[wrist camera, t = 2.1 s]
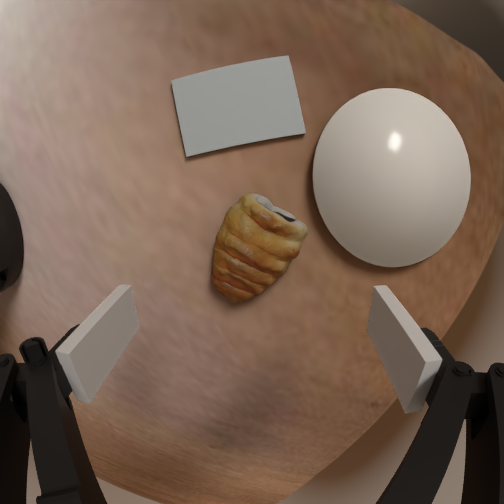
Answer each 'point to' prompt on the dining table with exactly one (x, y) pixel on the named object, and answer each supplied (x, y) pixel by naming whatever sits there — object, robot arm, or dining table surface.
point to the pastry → (254, 247)
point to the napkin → (237, 105)
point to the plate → (391, 177)
